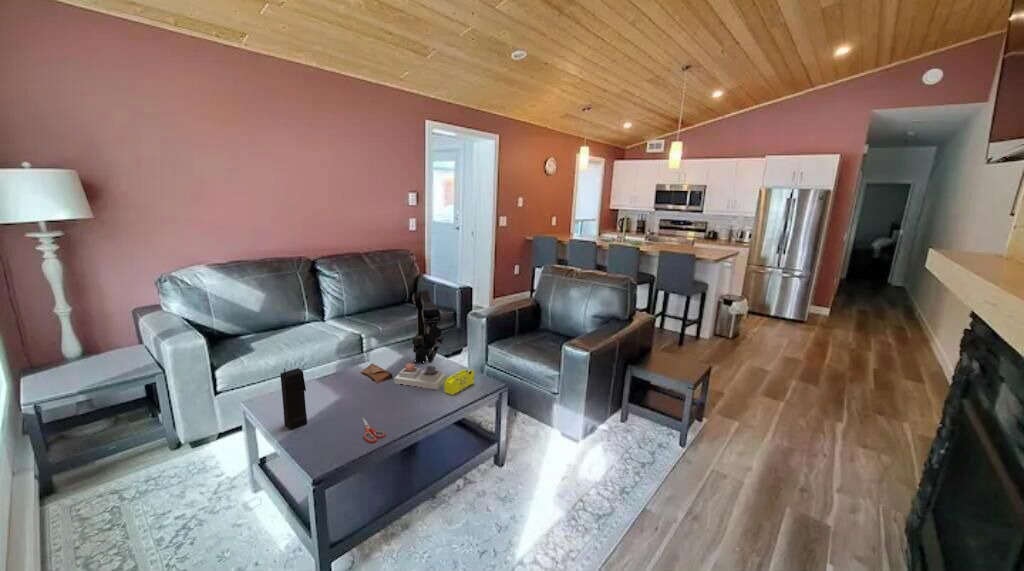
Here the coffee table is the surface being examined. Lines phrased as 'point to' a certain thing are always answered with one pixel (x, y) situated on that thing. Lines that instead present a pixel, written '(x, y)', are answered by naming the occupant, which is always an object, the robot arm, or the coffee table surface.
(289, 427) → the portable radio
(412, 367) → the pink rounded ball
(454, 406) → the coffee table surface
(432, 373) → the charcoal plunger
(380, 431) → the scissors
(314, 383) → the coffee table surface
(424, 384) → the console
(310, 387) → the coffee table surface
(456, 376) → the yellow toy chassis
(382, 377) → the sunglasses case
